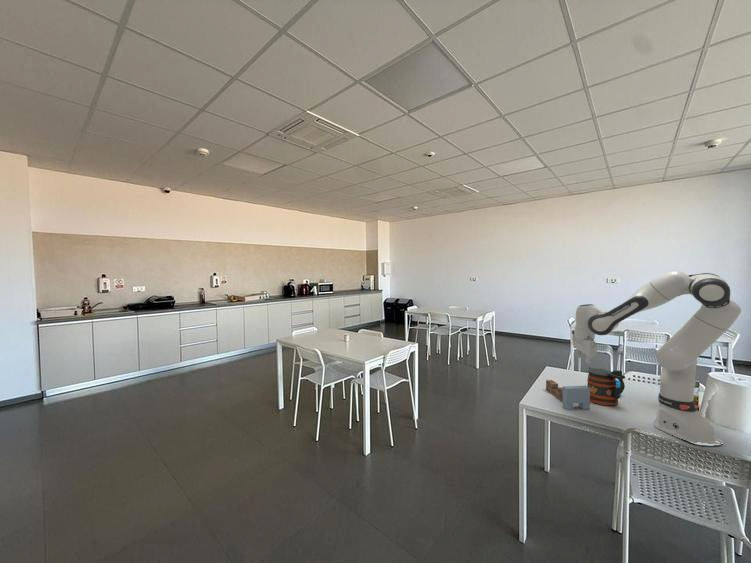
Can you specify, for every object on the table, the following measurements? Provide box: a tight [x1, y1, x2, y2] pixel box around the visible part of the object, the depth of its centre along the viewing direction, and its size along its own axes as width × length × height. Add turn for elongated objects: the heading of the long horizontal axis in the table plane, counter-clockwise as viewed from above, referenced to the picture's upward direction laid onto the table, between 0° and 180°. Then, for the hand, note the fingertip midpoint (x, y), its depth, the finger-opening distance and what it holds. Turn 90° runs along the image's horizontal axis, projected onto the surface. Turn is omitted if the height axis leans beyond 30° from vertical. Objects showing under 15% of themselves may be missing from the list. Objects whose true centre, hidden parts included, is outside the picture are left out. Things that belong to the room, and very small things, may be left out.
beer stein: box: [586, 367, 626, 407], centre depth 167 cm, size 19×15×20 cm
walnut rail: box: [545, 379, 563, 403], centre depth 177 cm, size 18×4×6 cm, turn 179°
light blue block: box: [562, 385, 591, 410], centre depth 161 cm, size 12×4×11 cm, turn 89°
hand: (583, 359), depth 163 cm, fingers open, 8 cm apart
